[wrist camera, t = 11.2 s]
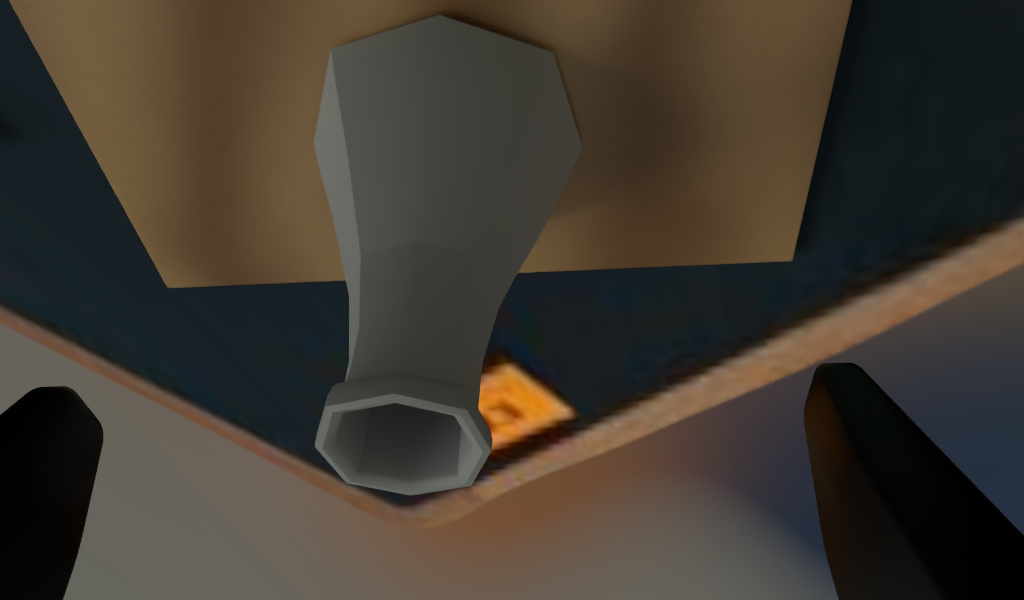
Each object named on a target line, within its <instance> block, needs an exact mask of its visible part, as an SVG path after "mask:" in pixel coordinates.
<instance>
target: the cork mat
mask: <svg viewBox="0 0 1024 600" xmlns="http://www.w3.org/2000/svg"><path fill="white" fill-rule="evenodd" d="M9 1H10V3H11V5H12V7H13V9H14V10H15V12H16V14H17V16H18V18H19V19H20V21H21V23H22V25H23V27H24V29H25V30H26V32H27V34H28V36H29V38H30V39H31V41H32V43H33V45H34V47H35V48H36V50H37V52H38V54H39V56H40V58H41V59H42V61H43V63H44V65H45V67H46V68H47V70H48V72H49V74H50V76H51V77H52V79H53V81H54V83H55V85H56V87H57V88H58V90H59V92H60V94H61V96H62V97H63V99H64V101H65V103H66V105H67V106H68V108H69V110H70V112H71V114H72V115H73V117H74V119H75V121H76V123H77V125H78V126H79V128H80V130H81V132H82V134H83V135H84V137H85V139H86V141H87V143H88V144H89V146H90V148H91V150H92V152H93V154H94V155H95V157H96V159H97V161H98V163H99V164H100V166H101V168H102V170H103V172H104V173H105V175H106V177H107V179H108V181H109V183H110V184H111V186H112V188H113V190H114V192H115V193H116V195H117V197H118V199H119V201H120V202H121V204H122V206H123V208H124V210H125V212H126V213H127V215H128V217H129V219H130V221H131V222H132V224H133V226H134V228H135V230H136V231H137V233H138V235H139V237H140V239H141V240H142V242H143V244H144V246H145V248H146V250H147V251H148V253H149V255H150V257H151V259H152V260H153V262H154V264H155V266H156V268H157V269H158V271H159V273H160V275H161V277H162V279H163V280H164V282H165V284H166V286H167V287H168V288H180V287H203V286H226V285H249V284H272V283H295V282H319V281H342V280H346V278H345V274H344V269H343V264H342V259H341V254H340V250H339V245H338V240H337V235H336V230H335V226H334V221H333V217H332V213H331V210H330V206H329V202H328V198H327V195H326V191H325V187H324V184H323V180H322V176H321V173H320V169H319V165H318V161H317V156H316V151H315V147H314V138H315V132H316V127H317V122H318V116H319V111H320V105H321V100H322V94H323V89H324V84H325V78H326V73H327V67H328V62H329V56H330V51H331V49H332V48H335V47H339V46H342V45H345V44H348V43H351V42H354V41H358V40H361V39H364V38H367V37H370V36H374V35H377V34H380V33H383V32H386V31H389V30H393V29H396V28H399V27H402V26H405V25H409V24H412V23H415V22H418V21H421V20H425V19H428V18H431V17H434V16H437V15H441V16H444V17H448V18H451V19H454V20H457V21H460V22H463V23H466V24H469V25H472V26H475V27H478V28H481V29H484V30H487V31H490V32H493V33H496V34H499V35H502V36H505V37H508V38H511V39H514V40H517V41H520V42H523V43H526V44H529V45H532V46H535V47H538V48H541V49H544V50H547V51H550V52H553V54H554V57H555V60H556V64H557V67H558V70H559V73H560V76H561V80H562V83H563V86H564V89H565V92H566V96H567V99H568V102H569V105H570V109H571V112H572V115H573V118H574V121H575V125H576V128H577V131H578V134H579V137H580V141H581V144H582V147H583V148H582V150H581V152H580V154H579V156H578V158H577V160H576V162H575V164H574V167H573V169H572V171H571V173H570V175H569V177H568V179H567V181H566V183H565V185H564V187H563V189H562V192H561V194H560V196H559V198H558V200H557V202H556V204H555V206H554V208H553V210H552V212H551V215H550V217H549V219H548V221H547V223H546V225H545V227H544V229H543V231H542V233H541V235H540V236H539V238H538V240H537V242H536V244H535V245H534V247H533V248H532V250H531V252H530V253H529V255H528V257H527V258H526V260H525V262H524V263H523V265H522V267H521V268H520V270H519V272H518V273H526V272H549V271H572V270H595V269H618V268H641V267H664V266H687V265H710V264H733V263H756V262H779V261H792V260H793V256H794V251H795V247H796V243H797V238H798V234H799V230H800V225H801V221H802V217H803V212H804V208H805V204H806V199H807V195H808V191H809V187H810V182H811V178H812V174H813V169H814V165H815V161H816V156H817V152H818V148H819V143H820V139H821V135H822V130H823V126H824V122H825V117H826V113H827V109H828V104H829V100H830V96H831V91H832V87H833V83H834V78H835V74H836V70H837V65H838V61H839V57H840V52H841V48H842V44H843V39H844V35H845V31H846V26H847V22H848V18H849V13H850V9H851V5H852V0H9Z"/></svg>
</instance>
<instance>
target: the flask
mask: <svg viewBox="0 0 1024 600" xmlns="http://www.w3.org/2000/svg"><path fill="white" fill-rule="evenodd" d="M314 147H315V151H316V156H317V161H318V165H319V169H320V173H321V176H322V180H323V184H324V187H325V191H326V195H327V198H328V202H329V206H330V210H331V213H332V217H333V221H334V226H335V230H336V235H337V240H338V245H339V250H340V254H341V259H342V264H343V269H344V274H345V278H346V283H347V288H348V293H349V365H348V369H347V374H346V379H345V382H343V383H338V384H336V385H334V386H333V387H332V389H331V391H330V393H329V394H328V396H327V400H326V404H325V407H324V411H323V415H322V418H321V422H320V426H319V429H318V433H317V437H316V442H315V447H316V448H317V450H318V451H319V452H320V453H321V454H322V455H323V456H324V458H325V459H326V460H327V461H328V462H329V463H330V465H331V466H332V467H333V468H334V469H335V470H336V471H337V473H338V474H339V475H340V476H341V477H342V478H343V479H344V481H345V482H346V483H350V484H355V485H360V486H365V487H371V488H376V489H381V490H386V491H391V492H396V493H401V494H406V495H416V494H422V493H429V492H435V491H441V490H448V489H454V488H461V487H467V486H471V485H472V484H473V482H474V480H475V478H476V476H477V475H478V473H479V471H480V469H481V468H482V466H483V464H484V462H485V461H486V459H487V457H488V455H489V454H490V452H491V448H492V436H491V432H490V429H489V427H488V425H487V423H486V422H485V420H484V418H483V417H482V415H481V413H480V411H479V409H478V404H479V392H480V381H481V370H482V362H483V359H484V355H485V352H486V349H487V345H488V342H489V339H490V335H491V332H492V328H493V325H494V322H495V318H496V315H497V312H498V309H499V307H500V305H501V303H502V301H503V299H504V297H505V295H506V293H507V291H508V289H509V288H510V286H511V284H512V282H513V280H514V278H515V277H516V275H517V273H518V272H519V270H520V268H521V267H522V265H523V263H524V262H525V260H526V258H527V257H528V255H529V253H530V252H531V250H532V248H533V247H534V245H535V244H536V242H537V240H538V238H539V236H540V235H541V233H542V231H543V229H544V227H545V225H546V223H547V221H548V219H549V217H550V215H551V212H552V210H553V208H554V206H555V204H556V202H557V200H558V198H559V196H560V194H561V192H562V189H563V187H564V185H565V183H566V181H567V179H568V177H569V175H570V173H571V171H572V169H573V167H574V164H575V162H576V160H577V158H578V156H579V154H580V152H581V150H582V148H583V147H582V144H581V141H580V137H579V134H578V131H577V128H576V125H575V121H574V118H573V115H572V112H571V109H570V105H569V102H568V99H567V96H566V92H565V89H564V86H563V83H562V80H561V76H560V73H559V70H558V67H557V64H556V60H555V57H554V54H553V52H550V51H547V50H544V49H541V48H538V47H535V46H532V45H529V44H526V43H523V42H520V41H517V40H514V39H511V38H508V37H505V36H502V35H499V34H496V33H493V32H490V31H487V30H484V29H481V28H478V27H475V26H472V25H469V24H466V23H463V22H460V21H457V20H454V19H451V18H448V17H444V16H441V15H437V16H434V17H431V18H428V19H425V20H421V21H418V22H415V23H412V24H409V25H405V26H402V27H399V28H396V29H393V30H389V31H386V32H383V33H380V34H377V35H374V36H370V37H367V38H364V39H361V40H358V41H354V42H351V43H348V44H345V45H342V46H339V47H335V48H332V49H331V51H330V56H329V62H328V67H327V73H326V78H325V84H324V89H323V94H322V100H321V105H320V111H319V116H318V122H317V127H316V132H315V138H314Z"/></svg>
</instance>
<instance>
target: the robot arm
mask: <svg viewBox="0 0 1024 600" xmlns="http://www.w3.org/2000/svg"><path fill="white" fill-rule="evenodd" d="M804 426H805V432H806V439H807V445H808V451H809V457H810V463H811V469H812V476H813V482H814V488H815V495H816V501H817V507H818V514H819V520H820V526H821V532H822V537H823V543H824V547H825V551H826V555H827V560H828V563H829V567H830V571H831V574H832V578H833V581H834V585H835V588H836V592H837V595H838V599H839V600H1024V535H1023V534H1022V533H1021V532H1020V531H1019V530H1018V529H1017V528H1016V527H1015V526H1014V525H1013V524H1012V523H1011V522H1010V521H1009V520H1008V519H1007V518H1006V517H1005V516H1004V515H1003V513H1001V512H1000V510H999V509H998V508H997V507H996V506H995V505H994V504H993V503H992V502H991V501H990V500H989V499H988V498H987V497H986V496H985V495H984V494H983V493H982V492H981V491H980V490H979V489H978V488H977V487H976V486H975V485H974V484H973V483H972V482H971V480H970V479H969V478H968V477H967V476H966V475H965V474H964V473H963V472H962V471H961V470H960V469H959V468H958V467H957V466H956V465H955V464H954V463H953V462H952V461H951V460H950V459H949V458H948V457H947V456H946V455H945V454H944V453H943V452H942V451H941V450H940V449H939V447H938V446H936V444H935V443H934V442H933V441H932V440H931V439H930V438H929V437H928V436H927V435H926V434H925V433H924V432H923V431H922V430H921V429H920V428H919V427H918V426H917V425H916V424H915V423H914V422H913V421H912V420H911V419H910V417H909V416H908V415H907V414H906V413H905V412H904V411H903V410H902V409H901V408H900V407H899V406H898V405H897V404H896V403H895V402H894V401H893V400H892V399H891V398H890V397H889V396H888V395H887V394H886V393H885V392H884V391H883V390H882V389H881V388H880V387H879V386H878V384H876V383H875V381H874V380H873V379H872V378H871V377H870V376H869V375H868V374H867V373H866V372H865V371H864V370H863V369H862V368H861V367H859V366H858V365H856V364H854V363H824V364H821V365H819V366H818V367H817V369H816V371H815V373H814V377H813V380H812V383H811V386H810V390H809V393H808V396H807V400H806V403H805V407H804ZM102 445H103V429H102V426H101V424H100V422H99V420H98V419H97V418H96V417H95V415H94V414H93V413H92V412H91V410H90V409H89V408H88V407H87V405H86V404H85V403H84V402H83V400H82V399H81V398H80V397H79V395H78V394H77V393H76V392H75V391H74V390H73V389H71V388H69V387H65V386H59V387H39V388H36V389H33V390H31V391H29V392H28V393H27V394H25V395H24V396H23V397H22V398H20V399H19V400H18V401H17V402H16V403H15V404H13V405H12V406H11V407H9V408H8V409H7V410H6V411H5V412H3V413H2V414H1V415H0V600H63V597H64V595H65V592H66V589H67V586H68V583H69V580H70V577H71V574H72V571H73V568H74V564H75V561H76V558H77V554H78V551H79V547H80V543H81V539H82V535H83V531H84V526H85V522H86V517H87V513H88V508H89V503H90V499H91V495H92V490H93V486H94V481H95V477H96V472H97V467H98V463H99V458H100V454H101V449H102Z"/></svg>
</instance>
